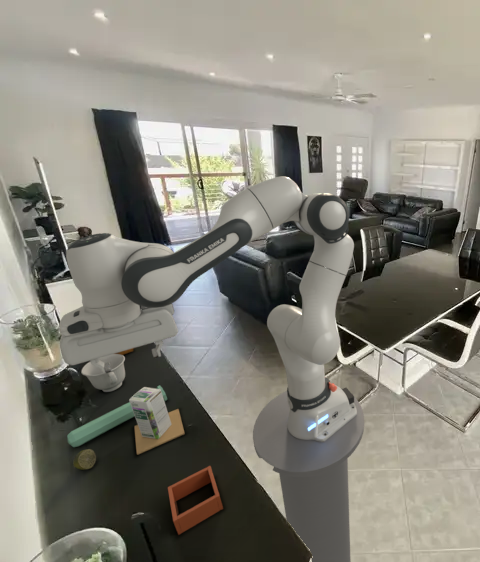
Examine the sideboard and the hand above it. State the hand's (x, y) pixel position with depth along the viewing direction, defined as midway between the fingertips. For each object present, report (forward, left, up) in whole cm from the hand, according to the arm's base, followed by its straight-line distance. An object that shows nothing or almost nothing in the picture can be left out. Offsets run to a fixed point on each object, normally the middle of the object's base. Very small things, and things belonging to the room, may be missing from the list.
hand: (133, 363), depth 74 cm
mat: (+1, -16, -35) cm, 39 cm away
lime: (+18, -14, -35) cm, 42 cm away
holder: (-4, +15, -35) cm, 38 cm away
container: (+10, -27, -35) cm, 46 cm away
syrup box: (+1, -16, -35) cm, 38 cm away
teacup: (+12, -47, -35) cm, 60 cm away
